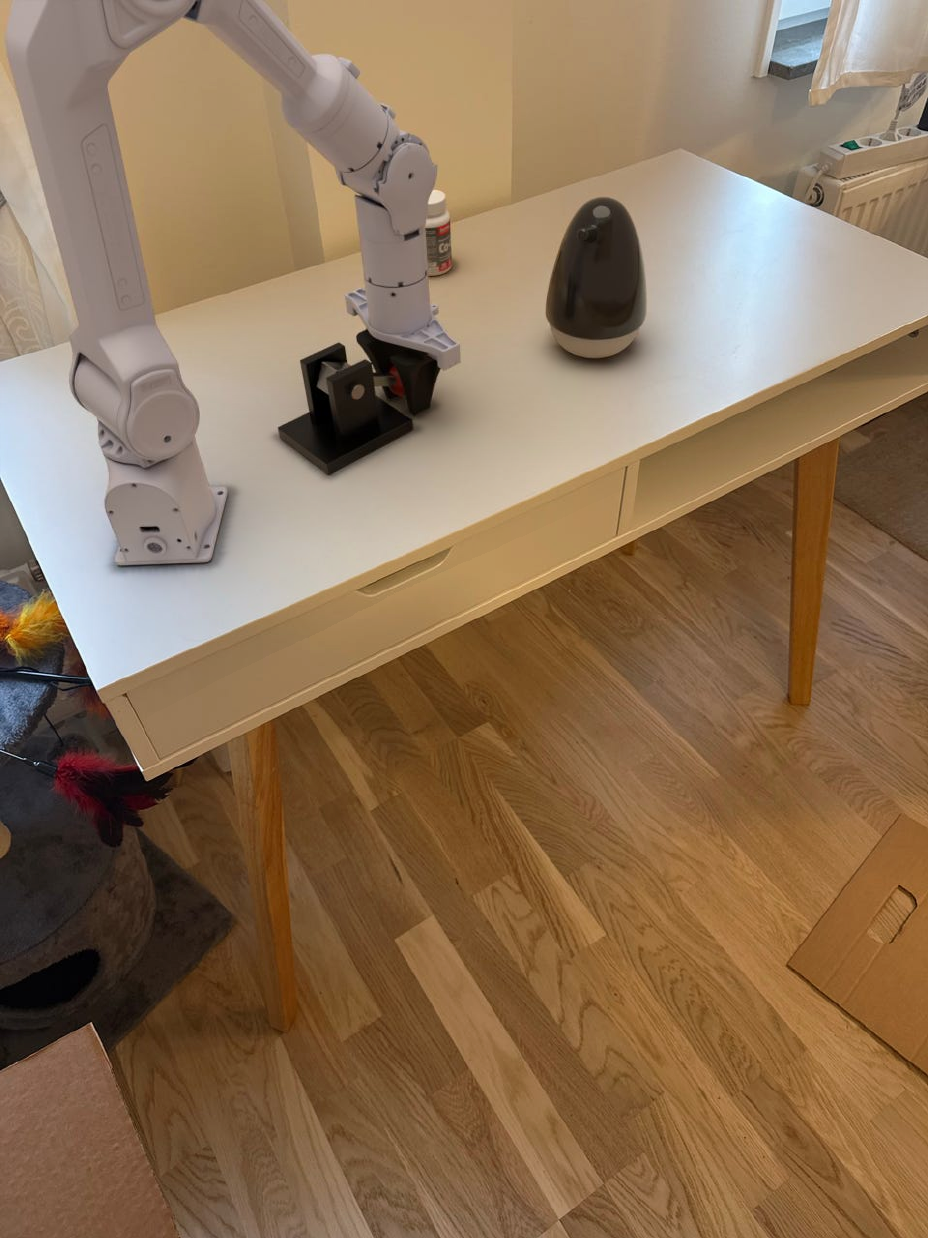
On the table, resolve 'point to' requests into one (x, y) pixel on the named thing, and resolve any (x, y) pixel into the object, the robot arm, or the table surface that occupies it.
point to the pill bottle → (438, 235)
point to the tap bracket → (342, 414)
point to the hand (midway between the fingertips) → (407, 403)
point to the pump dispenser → (598, 282)
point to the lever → (380, 378)
